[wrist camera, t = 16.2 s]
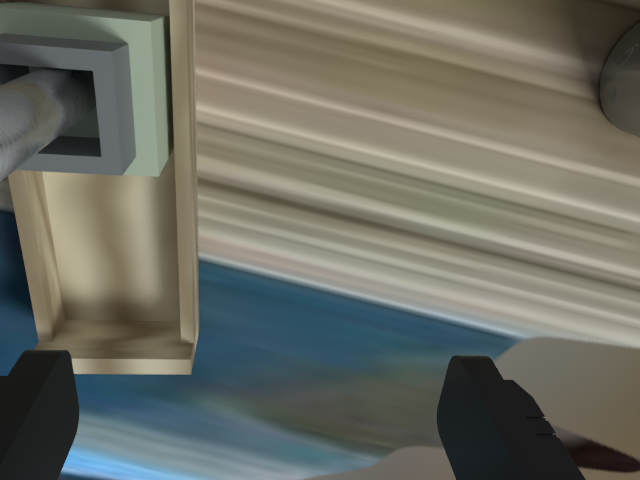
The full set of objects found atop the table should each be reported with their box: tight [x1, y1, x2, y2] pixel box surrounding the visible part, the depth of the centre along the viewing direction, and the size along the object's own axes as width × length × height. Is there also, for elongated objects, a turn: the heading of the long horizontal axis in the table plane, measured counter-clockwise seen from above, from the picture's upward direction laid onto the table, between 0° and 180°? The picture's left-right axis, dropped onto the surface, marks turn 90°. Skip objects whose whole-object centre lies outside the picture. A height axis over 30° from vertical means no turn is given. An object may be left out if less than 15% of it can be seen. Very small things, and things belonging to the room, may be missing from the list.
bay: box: [0, 0, 199, 374], centre depth 36 cm, size 12×30×6 cm, turn 175°
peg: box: [0, 67, 96, 182], centre depth 23 cm, size 3×3×14 cm
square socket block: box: [0, 2, 174, 177], centre depth 31 cm, size 9×9×10 cm
